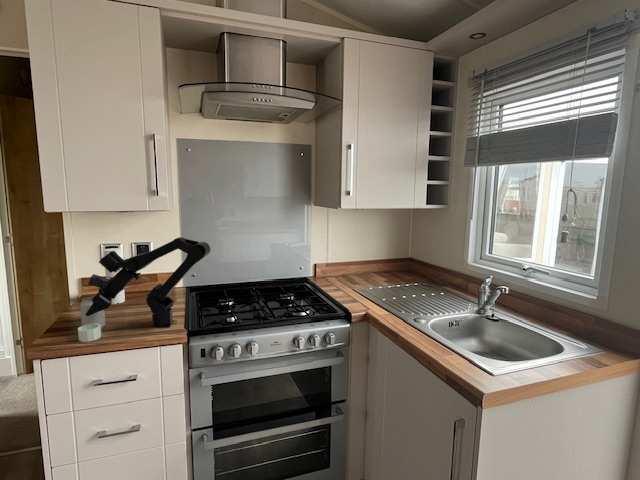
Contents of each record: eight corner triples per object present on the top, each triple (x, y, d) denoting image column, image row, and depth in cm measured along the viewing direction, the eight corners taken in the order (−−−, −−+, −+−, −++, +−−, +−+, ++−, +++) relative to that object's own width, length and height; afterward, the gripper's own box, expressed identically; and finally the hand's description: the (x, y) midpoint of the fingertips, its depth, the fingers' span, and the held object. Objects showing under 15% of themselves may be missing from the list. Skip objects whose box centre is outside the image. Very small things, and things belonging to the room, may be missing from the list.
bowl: (104, 333, 134) (103, 323, 133) (95, 341, 127) (94, 330, 127) (85, 334, 133) (84, 323, 133) (74, 341, 127) (73, 330, 126)
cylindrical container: (103, 303, 168) (100, 250, 165) (116, 298, 175) (113, 247, 172) (116, 304, 166) (112, 251, 163) (128, 300, 173) (125, 248, 169)
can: (79, 333, 134) (76, 301, 133) (86, 325, 141) (83, 295, 140) (102, 331, 136) (99, 300, 135) (107, 323, 143) (105, 294, 142)
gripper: (106, 262, 146) (76, 291, 143) (97, 272, 128) (63, 306, 126) (129, 280, 150) (100, 308, 147) (123, 292, 133) (90, 325, 130)
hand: (89, 311), depth 137 cm, fingers open, 9 cm apart
